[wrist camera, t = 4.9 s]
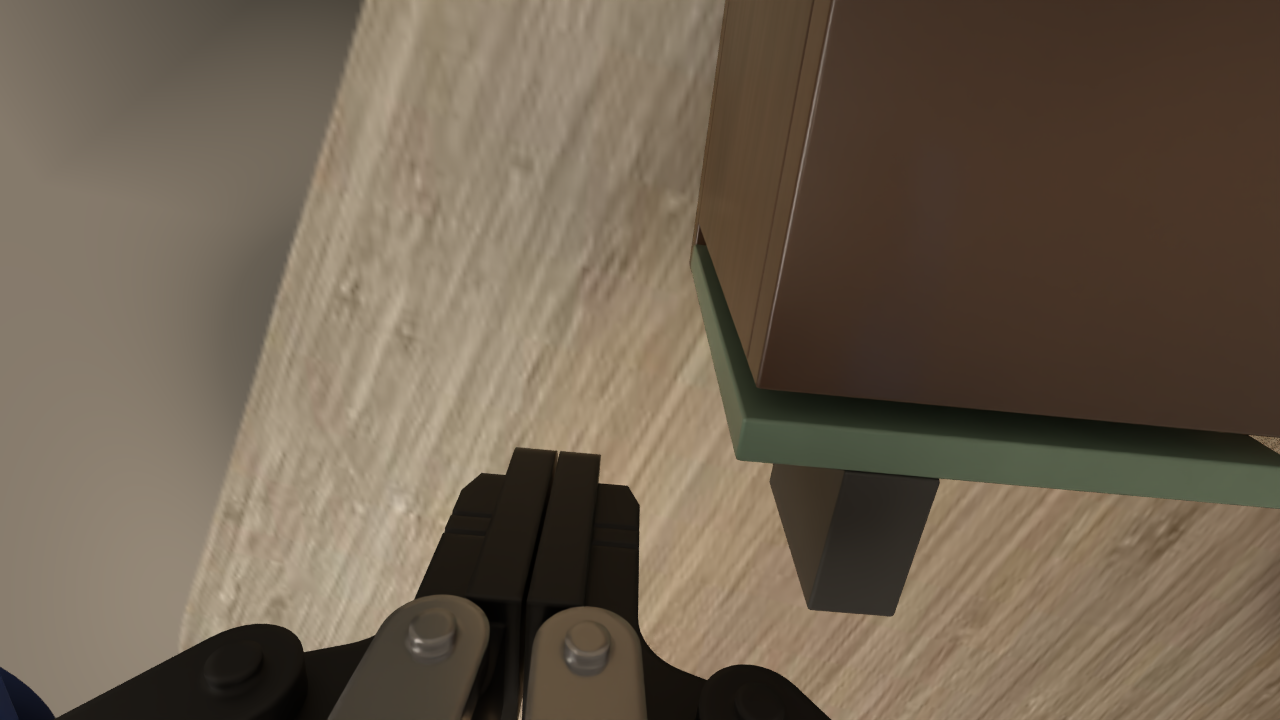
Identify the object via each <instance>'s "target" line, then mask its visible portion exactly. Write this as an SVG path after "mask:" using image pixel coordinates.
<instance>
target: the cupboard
mask: <svg viewBox="0 0 1280 720" xmlns="http://www.w3.org/2000/svg"><path fill="white" fill-rule="evenodd" d="M696 244H697V245H707V248H708V251H709V254H710V256H711V259H712V262H713V265H714V268H715V271H716V273H717V276H718V279H719V282H720V285H721V288H722V290H723V293H724V296H725V299H726V302H727V305H728V307H729V310H730V313H731V316H732V319H733V322H734V324H735V327H736V330H737V333H738V336H739V338H740V341H741V344H742V347H743V350H744V353H745V355H746V358H747V360H748V364H749V367H750V370H751V373H752V376H753V379H754V381H755V384H756V387H757V388H760V389H767V390H777V391H788V392H799V393H809V394H820V395H830V396H841V397H852V398H862V399H873V400H884V401H894V402H905V403H916V404H926V405H937V406H948V407H958V408H969V409H980V410H990V411H1001V412H1011V413H1022V414H1033V415H1043V416H1054V417H1065V418H1075V419H1086V420H1097V421H1107V422H1118V423H1129V424H1139V425H1150V426H1161V427H1171V428H1182V429H1193V430H1203V431H1214V432H1224V433H1235V434H1246V435H1256V436H1267V437H1278V438H1280V0H725V8H724V15H723V22H722V30H721V37H720V44H719V52H718V59H717V66H716V73H715V81H714V88H713V95H712V103H711V110H710V117H709V125H708V132H707V139H706V147H705V154H704V161H703V168H702V176H701V183H700V190H699V198H698V205H697V212H696V220H695V227H694V234H693V242H692V249H691V256H690V268H691V261H692V254H693V247H694V245H696ZM691 272H692V270H691Z"/></svg>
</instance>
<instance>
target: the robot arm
mask: <svg viewBox="0 0 1280 720" xmlns="http://www.w3.org/2000/svg"><path fill="white" fill-rule="evenodd" d="M600 460H601V455H598V454H587V453H576V452H565V451H560V454H559V458H558V453H557V451H552V450H541V449H530V448H519V447H516V448H515V450H514V452H513V455H512V458H511V461H510V464H509V467H508V470H507V473H506V475H498V474H487V473H481V474H480V475H479V476H478V477H476V478H475V479H474V480H473V481H472V482H470V483H469V484H468V485H467V486H466V487H465V488H463V489H462V490H461V493H460V495H459V497H458V500H457V502H456V504H455V507H454V509H453V513H452V515H451V516H450V518H449V520H448V523H447V525H446V527H445V533H443V534H442V537H441V539H440V541H439V544H438V546H437V548H436V550H435V553H434V555H433V557H432V560H431V562H430V564H429V567H428V569H427V571H426V574H425V576H424V578H423V581H422V583H421V585H420V587H419V590H418V592H417V594H416V597H415V599H414V600H413V601H411V602H409V603H406V604H405V605H403V606H401V607H400V608H398V609H397V610H395V611H394V612H393V613H392V614H391V615H390V616H389V617H388V618H387V619H386V620H385V621H384V622H383V624H382V625H381V627H380V628H379V630H378V632H377V633H376V635H374V636H372V637H370V638H367V639H365V640H362V641H359V642H355V643H351V644H346V645H341V646H335V647H330V648H324V649H319V650H313V651H308V652H303V647H302V644H301V642H300V640H299V639H298V637H297V636H296V635H295V634H294V633H293V632H291V631H290V630H288V629H286V628H284V627H280V626H277V625H271V624H252V625H244V626H240V627H236V628H232V629H229V630H227V631H224V632H221V633H219V634H217V635H215V636H212V637H210V638H208V639H206V640H205V641H203V642H201V643H199V644H197V645H195V646H193V647H191V648H189V649H187V650H185V651H184V652H182V653H180V654H178V655H176V656H174V657H172V658H170V659H168V660H166V661H164V662H163V663H161V664H159V665H157V666H155V667H153V668H151V669H149V670H147V671H145V672H143V673H142V674H140V675H138V676H136V677H134V678H132V679H130V680H128V681H126V682H124V683H123V684H121V685H119V686H117V687H115V688H113V689H111V690H109V691H107V692H105V693H103V694H101V695H99V696H98V697H96V698H94V699H92V700H90V701H88V702H86V703H84V704H82V705H80V706H79V707H77V708H75V709H73V710H71V711H69V712H67V713H65V714H63V715H61V716H60V717H58V718H56V719H54V720H518V717H519V712H520V707H521V702H522V697H523V706H522V720H831V719H830V718H829V717H828V716H827V715H826V714H825V713H824V712H822V711H821V710H820V709H819V708H818V707H817V706H816V705H815V704H814V703H813V702H812V701H811V700H810V699H809V698H808V697H807V696H806V695H804V694H803V693H802V692H801V691H800V690H799V689H798V688H797V687H796V686H795V685H794V684H792V683H791V682H790V681H789V680H788V679H786V678H785V677H783V676H781V675H780V674H778V673H776V672H774V671H772V670H769V669H766V668H763V667H760V666H755V665H742V664H741V665H733V666H729V667H726V668H723V669H721V670H719V671H717V672H716V673H715V674H713V675H712V676H711V677H710V678H709V679H708V680H705V679H703V678H700V677H697V676H695V675H692V674H689V673H687V672H684V671H682V670H679V669H677V668H675V667H673V666H671V665H670V664H668V663H666V662H665V661H663V660H662V659H661V658H660V657H658V656H657V655H656V654H655V653H654V652H653V651H652V650H651V649H650V648H649V646H648V645H647V643H646V642H645V640H644V638H643V636H642V634H641V632H640V628H639V623H638V584H639V513H640V505H639V504H638V502H637V500H636V499H635V497H634V495H633V494H632V492H631V490H630V489H629V487H628V486H623V485H612V484H601V483H598V482H599V471H600ZM557 461H558V462H557Z"/></svg>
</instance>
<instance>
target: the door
mask: <svg viewBox="0 0 1280 720" xmlns="http://www.w3.org/2000/svg"><path fill="white" fill-rule="evenodd" d="M691 270H692V274H693V279H694V283H695V287H696V291H697V295H698V300H699V304H700V308H701V312H702V317H703V321H704V325H705V329H706V333H707V338H708V342H709V346H710V350H711V355H712V359H713V363H714V367H715V371H716V376H717V380H718V384H719V388H720V393H721V397H722V401H723V405H724V410H725V414H726V418H727V422H728V426H729V431H730V435H731V439H732V443H733V448H734V452H735V456H736V459H737V460H740V461H751V462H762V463H774V464H773V468H772V473H771V477H770V485H771V488H772V492H773V495H774V498H775V502H776V505H777V508H778V511H779V515H780V518H781V521H782V525H783V528H784V531H785V534H786V538H787V541H788V544H789V548H790V551H791V554H792V558H793V561H794V564H795V567H796V571H797V574H798V577H799V581H800V584H801V587H802V590H803V594H804V597H805V600H806V604H807V607H808V609H810V610H817V611H830V612H842V613H854V614H867V615H879V616H893V615H894V613H895V610H896V607H897V604H898V601H899V598H900V596H901V593H902V590H903V587H904V584H905V581H906V578H907V575H908V573H909V570H910V567H911V564H912V561H913V558H914V555H915V552H916V550H917V547H918V544H919V541H920V538H921V535H922V532H923V529H924V526H925V524H926V521H927V518H928V515H929V512H930V509H931V506H932V503H933V501H934V498H935V495H936V492H937V489H938V486H939V483H940V482H939V478H941V479H952V480H963V481H974V482H985V483H997V484H1008V485H1019V486H1030V487H1041V488H1052V489H1064V490H1075V491H1086V492H1097V493H1108V494H1119V495H1130V496H1142V497H1153V498H1164V499H1175V500H1186V501H1197V502H1209V503H1220V504H1231V505H1242V506H1253V507H1264V508H1275V509H1280V454H1278V453H1276V452H1275V451H1273V450H1271V449H1270V448H1268V447H1266V446H1265V445H1263V444H1262V443H1260V442H1258V441H1257V440H1255V439H1253V438H1252V437H1250V436H1248V435H1246V434H1235V433H1224V432H1214V431H1203V430H1193V429H1182V428H1171V427H1161V426H1150V425H1139V424H1129V423H1118V422H1107V421H1097V420H1086V419H1075V418H1065V417H1054V416H1043V415H1033V414H1022V413H1011V412H1001V411H990V410H980V409H969V408H958V407H948V406H937V405H926V404H916V403H905V402H894V401H884V400H873V399H862V398H852V397H841V396H830V395H820V394H809V393H799V392H788V391H777V390H767V389H760V388H757V387H756V384H755V381H754V379H753V376H752V373H751V370H750V367H749V364H748V360H747V358H746V355H745V353H744V350H743V347H742V344H741V341H740V338H739V336H738V333H737V330H736V327H735V324H734V322H733V319H732V316H731V313H730V310H729V307H728V305H727V302H726V299H725V296H724V293H723V290H722V288H721V285H720V282H719V279H718V276H717V273H716V271H715V268H714V265H713V262H712V259H711V256H710V254H709V251H708V248H707V245H697V244H696V245H694V247H693V254H692V261H691Z"/></svg>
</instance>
